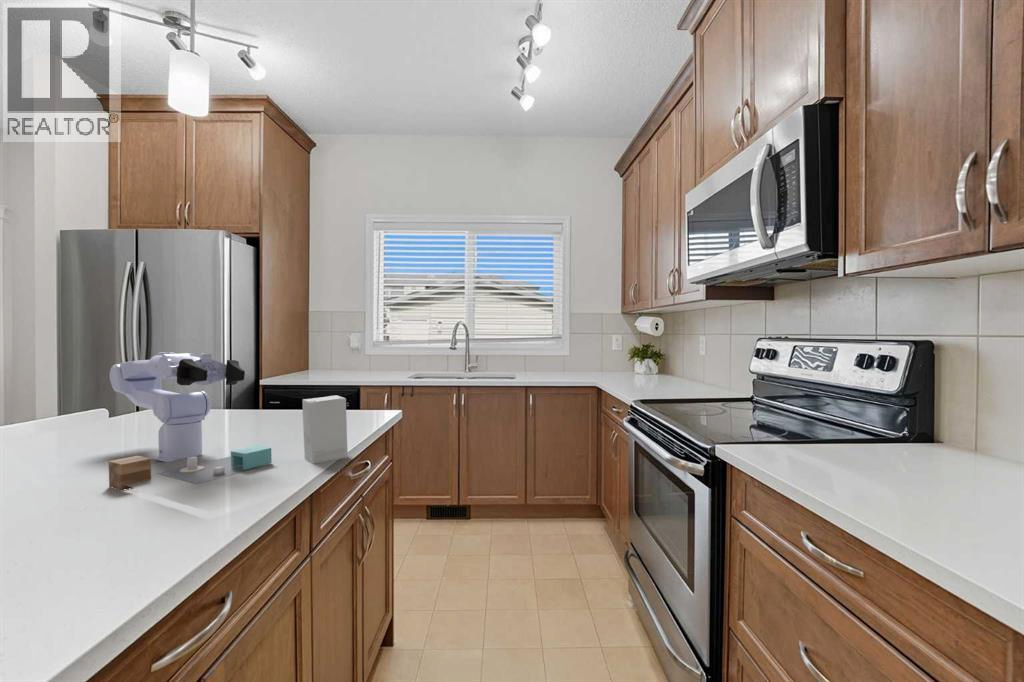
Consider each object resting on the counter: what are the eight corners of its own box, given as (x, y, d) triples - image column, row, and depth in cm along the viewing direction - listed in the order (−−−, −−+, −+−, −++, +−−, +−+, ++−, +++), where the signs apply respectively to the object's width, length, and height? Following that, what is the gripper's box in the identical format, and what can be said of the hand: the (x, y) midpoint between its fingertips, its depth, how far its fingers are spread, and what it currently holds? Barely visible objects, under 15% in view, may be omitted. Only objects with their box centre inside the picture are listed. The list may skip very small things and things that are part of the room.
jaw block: (109, 486, 97) (108, 461, 97) (138, 480, 102) (138, 455, 102) (121, 490, 95) (120, 464, 95) (151, 483, 99) (150, 458, 99)
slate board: (156, 477, 103) (155, 460, 103) (232, 460, 117) (232, 445, 117) (196, 489, 96) (196, 470, 96) (273, 468, 110) (272, 452, 109)
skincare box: (339, 457, 119) (338, 394, 119) (348, 462, 115) (347, 397, 114) (302, 463, 114) (301, 397, 114) (311, 468, 109) (310, 400, 109)
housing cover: (231, 466, 107) (230, 451, 107) (257, 460, 112) (257, 445, 112) (245, 469, 105) (244, 453, 104) (271, 462, 110) (271, 447, 110)
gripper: (160, 350, 108) (189, 355, 101) (229, 353, 120) (259, 357, 113) (157, 383, 108) (185, 390, 101) (226, 382, 120) (256, 389, 113)
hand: (224, 375), depth 107 cm, fingers open, 7 cm apart
